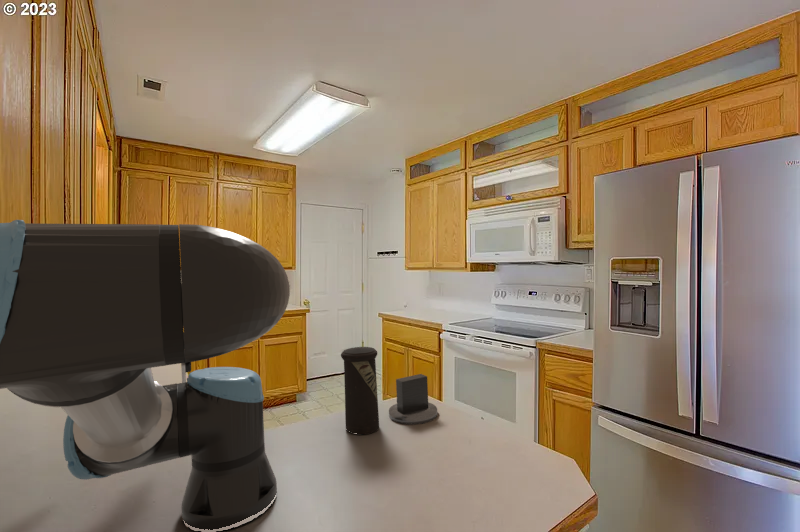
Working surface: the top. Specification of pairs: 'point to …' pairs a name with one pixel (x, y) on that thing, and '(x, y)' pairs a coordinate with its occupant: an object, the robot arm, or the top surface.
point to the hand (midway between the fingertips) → (149, 386)
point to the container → (360, 390)
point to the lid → (412, 401)
